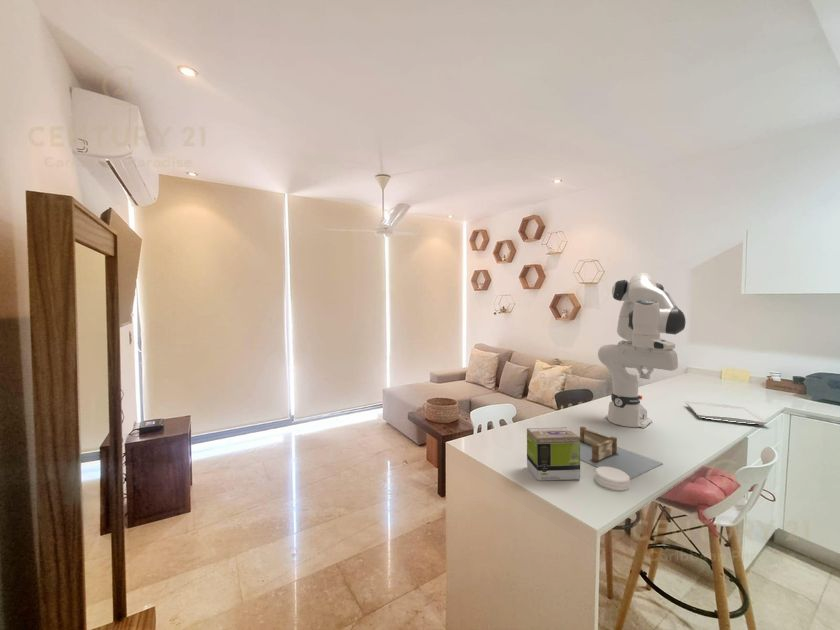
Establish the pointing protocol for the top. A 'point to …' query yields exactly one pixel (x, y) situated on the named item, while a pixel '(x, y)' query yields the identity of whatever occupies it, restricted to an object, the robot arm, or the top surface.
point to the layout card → (620, 461)
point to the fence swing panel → (601, 450)
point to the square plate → (760, 420)
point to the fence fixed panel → (596, 438)
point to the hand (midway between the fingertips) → (644, 378)
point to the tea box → (553, 453)
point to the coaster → (612, 478)
